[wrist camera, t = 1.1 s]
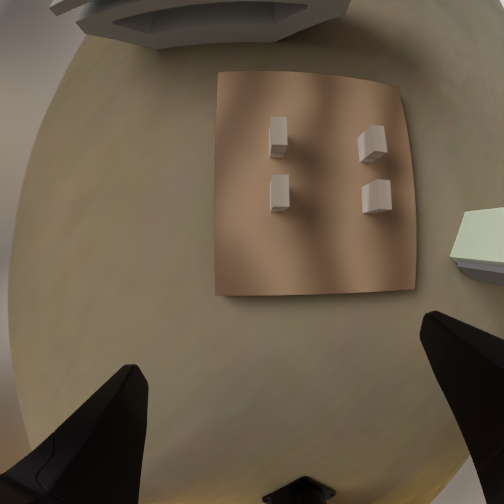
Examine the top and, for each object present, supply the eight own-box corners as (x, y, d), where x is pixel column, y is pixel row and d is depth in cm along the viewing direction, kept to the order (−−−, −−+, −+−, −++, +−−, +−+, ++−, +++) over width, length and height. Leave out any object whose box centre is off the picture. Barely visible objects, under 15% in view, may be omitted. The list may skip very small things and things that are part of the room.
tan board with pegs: (391, 93, 21) (412, 71, 16) (406, 286, 21) (434, 295, 17) (220, 80, 21) (213, 51, 16) (218, 291, 22) (208, 304, 17)
